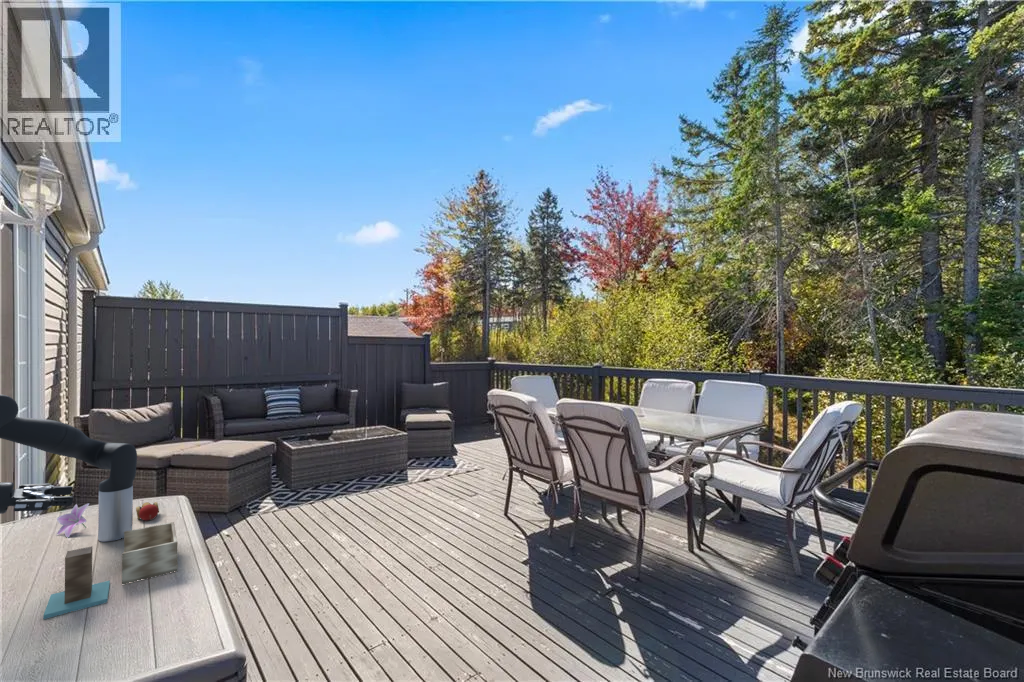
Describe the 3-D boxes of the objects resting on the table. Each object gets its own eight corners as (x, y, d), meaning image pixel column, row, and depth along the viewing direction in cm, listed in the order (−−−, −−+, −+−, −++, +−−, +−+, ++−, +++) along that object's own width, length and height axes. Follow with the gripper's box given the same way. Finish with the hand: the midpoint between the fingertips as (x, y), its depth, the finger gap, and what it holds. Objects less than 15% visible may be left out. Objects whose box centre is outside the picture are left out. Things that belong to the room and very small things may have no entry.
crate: (121, 585, 130) (122, 553, 130) (124, 559, 146) (124, 531, 146) (177, 571, 138) (177, 541, 138) (173, 548, 154) (174, 521, 154)
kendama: (131, 515, 186) (134, 522, 173) (135, 499, 187) (138, 504, 174) (155, 514, 191) (159, 521, 178) (158, 498, 192) (163, 503, 179)
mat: (43, 619, 114) (43, 615, 114) (50, 598, 124) (50, 594, 124) (107, 602, 122) (107, 598, 122) (109, 583, 131) (109, 580, 131)
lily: (57, 532, 169) (44, 514, 164) (97, 512, 176) (85, 494, 172) (64, 550, 162) (50, 533, 157) (105, 529, 169) (93, 511, 165)
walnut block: (64, 604, 119) (65, 558, 119) (66, 595, 123) (67, 551, 123) (90, 597, 122) (91, 552, 122) (91, 589, 126) (92, 546, 126)
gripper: (-17, 492, 107) (77, 489, 118) (-11, 474, 117) (75, 473, 128) (-26, 524, 106) (69, 518, 118) (-19, 504, 116) (68, 500, 128)
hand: (72, 495), depth 123 cm, fingers open, 8 cm apart
